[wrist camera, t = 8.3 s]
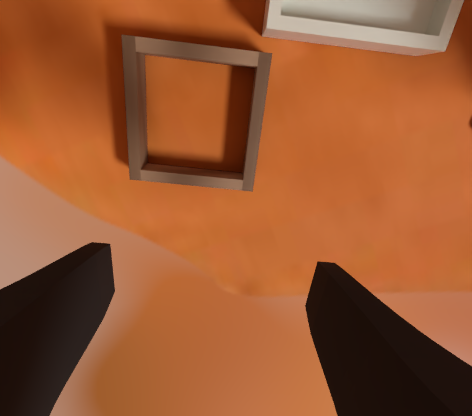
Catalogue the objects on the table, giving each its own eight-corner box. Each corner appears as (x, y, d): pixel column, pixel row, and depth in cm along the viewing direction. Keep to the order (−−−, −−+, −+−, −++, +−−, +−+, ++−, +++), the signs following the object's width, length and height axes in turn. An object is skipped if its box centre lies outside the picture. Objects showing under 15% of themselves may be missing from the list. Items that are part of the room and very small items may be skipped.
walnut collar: (268, 56, 16) (272, 53, 14) (250, 183, 19) (252, 191, 18) (132, 39, 15) (121, 34, 14) (137, 172, 19) (129, 179, 17)
